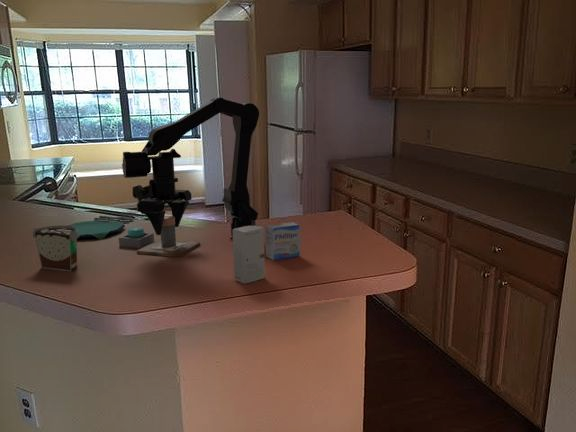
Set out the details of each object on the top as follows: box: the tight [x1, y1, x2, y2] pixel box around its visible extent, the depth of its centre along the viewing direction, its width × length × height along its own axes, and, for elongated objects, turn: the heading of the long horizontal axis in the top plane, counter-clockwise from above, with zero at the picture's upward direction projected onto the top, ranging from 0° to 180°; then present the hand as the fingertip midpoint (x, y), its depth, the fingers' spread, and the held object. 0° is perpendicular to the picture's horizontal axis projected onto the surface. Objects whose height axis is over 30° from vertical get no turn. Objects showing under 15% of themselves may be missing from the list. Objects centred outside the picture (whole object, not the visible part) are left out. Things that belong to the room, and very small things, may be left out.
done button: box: [127, 227, 145, 238], centre depth 143 cm, size 4×4×2 cm
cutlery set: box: [69, 215, 139, 240], centre depth 163 cm, size 20×30×2 cm, turn 171°
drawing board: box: [136, 238, 201, 258], centre depth 138 cm, size 13×12×1 cm
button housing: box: [118, 231, 155, 249], centre depth 144 cm, size 7×7×3 cm
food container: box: [32, 224, 80, 272], centre depth 124 cm, size 12×6×10 cm, turn 71°
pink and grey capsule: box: [160, 215, 177, 248], centre depth 137 cm, size 4×4×8 cm
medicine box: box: [265, 221, 301, 262], centre depth 129 cm, size 8×4×9 cm, turn 118°
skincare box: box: [232, 225, 266, 285], centre depth 113 cm, size 6×4×12 cm
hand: (167, 230), depth 137 cm, fingers open, 9 cm apart
